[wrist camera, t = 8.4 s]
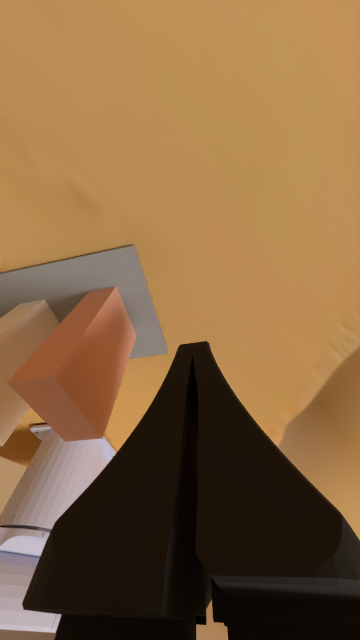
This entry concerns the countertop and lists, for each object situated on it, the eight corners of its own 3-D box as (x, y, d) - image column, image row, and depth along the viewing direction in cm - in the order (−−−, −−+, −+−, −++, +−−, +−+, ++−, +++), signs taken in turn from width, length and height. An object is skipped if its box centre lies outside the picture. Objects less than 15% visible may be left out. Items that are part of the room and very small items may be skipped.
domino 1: (73, 345, 17) (2, 446, 11) (52, 348, 18) (-30, 449, 11) (44, 299, 15) (-70, 392, 8) (20, 303, 15) (-109, 397, 9)
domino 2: (136, 336, 17) (102, 438, 10) (113, 339, 17) (64, 441, 10) (116, 286, 14) (53, 376, 8) (89, 291, 15) (6, 382, 8)
